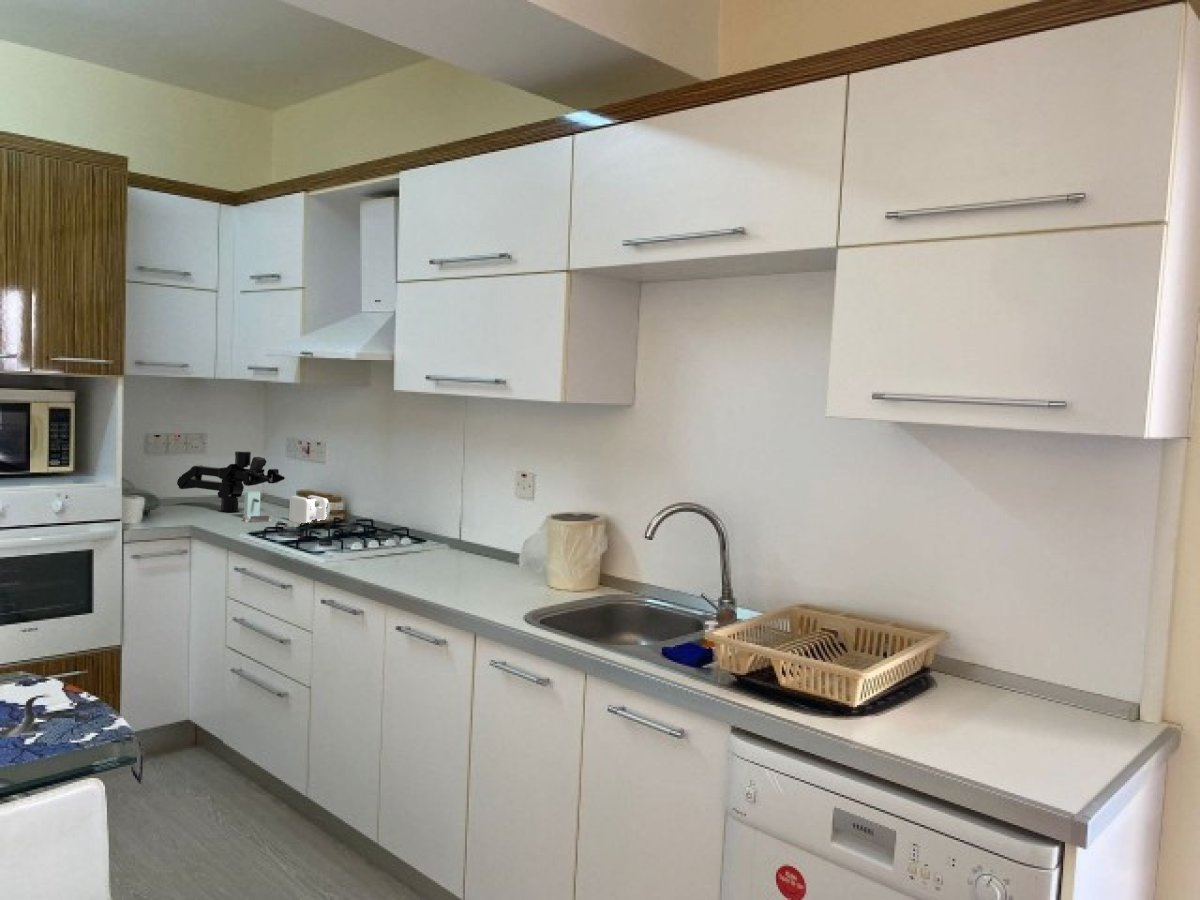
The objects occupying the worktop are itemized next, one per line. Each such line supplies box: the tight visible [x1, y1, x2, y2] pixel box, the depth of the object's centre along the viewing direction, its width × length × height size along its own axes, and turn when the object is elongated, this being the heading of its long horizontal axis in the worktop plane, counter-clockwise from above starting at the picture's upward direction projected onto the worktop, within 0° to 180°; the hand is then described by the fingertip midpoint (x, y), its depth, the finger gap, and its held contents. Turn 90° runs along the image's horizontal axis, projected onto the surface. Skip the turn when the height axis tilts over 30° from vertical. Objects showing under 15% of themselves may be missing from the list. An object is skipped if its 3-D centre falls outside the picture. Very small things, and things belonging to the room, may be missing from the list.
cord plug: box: [243, 490, 261, 520], centre depth 361 cm, size 9×6×11 cm, turn 39°
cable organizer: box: [288, 494, 330, 525], centre depth 362 cm, size 15×11×12 cm
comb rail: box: [242, 515, 273, 523], centre depth 360 cm, size 16×12×4 cm
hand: (276, 478), depth 376 cm, fingers open, 9 cm apart
